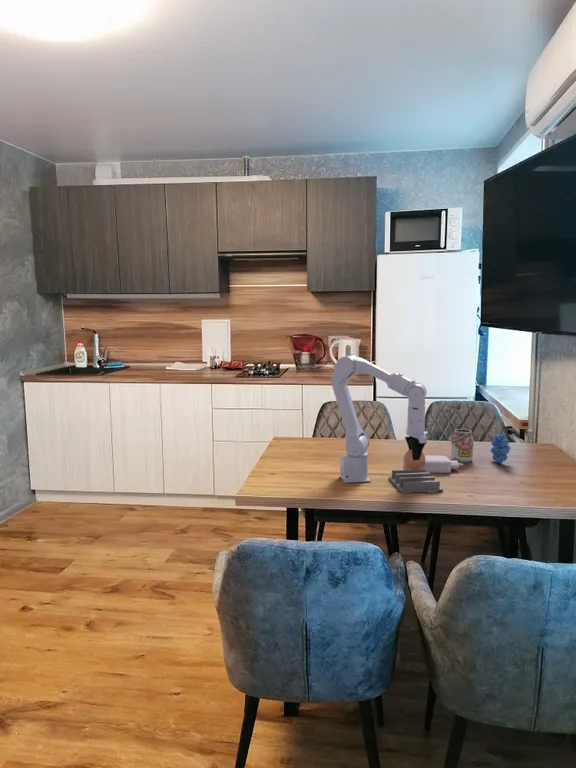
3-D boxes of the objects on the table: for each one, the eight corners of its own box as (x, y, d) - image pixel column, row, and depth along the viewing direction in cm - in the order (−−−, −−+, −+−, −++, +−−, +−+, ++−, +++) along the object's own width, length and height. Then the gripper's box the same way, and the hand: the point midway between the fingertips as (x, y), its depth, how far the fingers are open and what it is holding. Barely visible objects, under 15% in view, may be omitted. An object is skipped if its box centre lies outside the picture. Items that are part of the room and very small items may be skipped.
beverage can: (452, 463, 213) (453, 433, 212) (445, 457, 222) (446, 428, 220) (475, 463, 214) (477, 433, 212) (468, 457, 222) (469, 428, 220)
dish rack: (401, 493, 180) (402, 483, 180) (388, 479, 195) (388, 469, 194) (442, 491, 182) (443, 481, 181) (426, 477, 196) (427, 468, 196)
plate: (404, 470, 186) (405, 450, 185) (403, 468, 188) (403, 448, 187) (425, 470, 187) (425, 449, 186) (422, 468, 188) (423, 448, 187)
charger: (466, 474, 201) (424, 473, 202) (459, 466, 210) (420, 466, 211) (466, 461, 200) (424, 461, 201) (460, 454, 209) (420, 454, 210)
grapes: (517, 467, 208) (519, 436, 206) (500, 468, 207) (502, 437, 205) (502, 459, 219) (504, 429, 218) (486, 459, 219) (487, 430, 217)
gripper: (435, 423, 178) (434, 464, 180) (420, 414, 192) (419, 452, 194) (414, 424, 177) (413, 465, 179) (400, 415, 191) (399, 453, 193)
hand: (415, 458), depth 187 cm, fingers closed on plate, 2 cm apart
